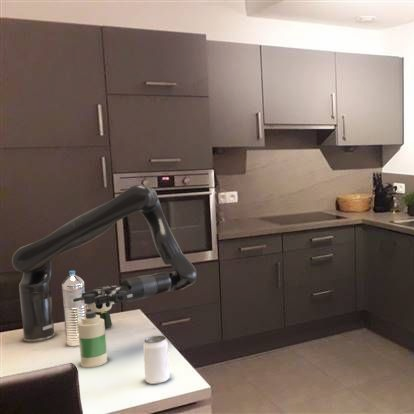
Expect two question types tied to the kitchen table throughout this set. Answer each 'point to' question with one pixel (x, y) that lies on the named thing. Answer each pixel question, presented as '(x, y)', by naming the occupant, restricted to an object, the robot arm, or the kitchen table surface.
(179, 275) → the robot arm
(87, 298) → the pump head
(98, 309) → the character mug
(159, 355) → the can
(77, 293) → the water bottle
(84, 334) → the dispenser
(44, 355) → the kitchen table surface
